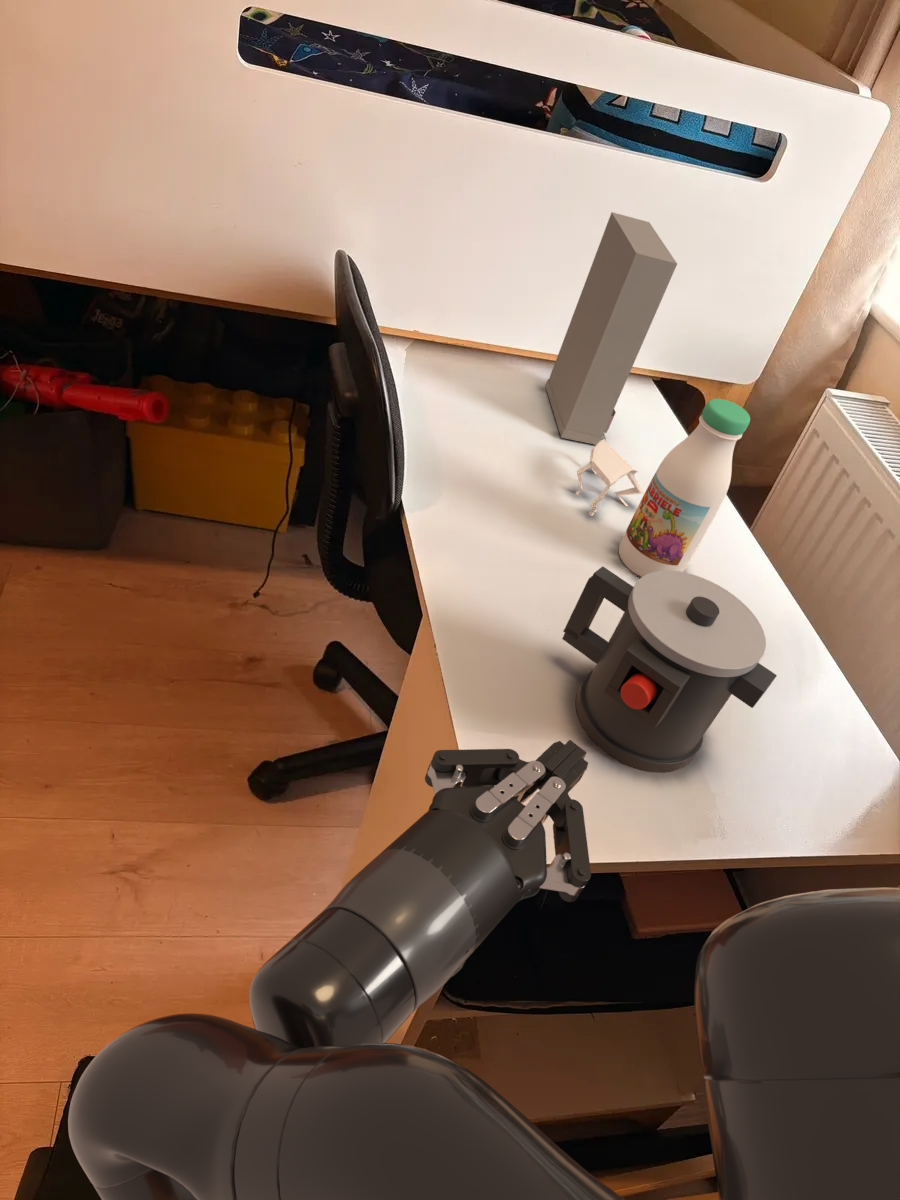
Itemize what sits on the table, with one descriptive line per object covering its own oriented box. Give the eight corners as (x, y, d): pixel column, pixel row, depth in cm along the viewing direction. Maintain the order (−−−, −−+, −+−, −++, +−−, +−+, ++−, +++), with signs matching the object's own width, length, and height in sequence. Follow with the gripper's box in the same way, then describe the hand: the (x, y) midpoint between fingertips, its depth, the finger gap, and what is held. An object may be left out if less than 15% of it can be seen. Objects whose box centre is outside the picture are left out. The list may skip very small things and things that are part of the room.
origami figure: (644, 524, 107) (661, 490, 104) (582, 518, 105) (597, 484, 101) (610, 466, 116) (624, 434, 113) (551, 460, 113) (565, 426, 110)
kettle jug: (672, 817, 74) (754, 703, 65) (510, 693, 80) (565, 573, 71) (732, 738, 83) (811, 629, 74) (583, 632, 89) (640, 519, 80)
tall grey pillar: (603, 448, 119) (684, 266, 103) (560, 439, 117) (635, 253, 102) (584, 396, 129) (655, 223, 113) (544, 387, 128) (610, 211, 112)
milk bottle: (644, 534, 106) (721, 384, 93) (694, 574, 102) (781, 424, 89) (603, 549, 101) (678, 393, 88) (653, 592, 97) (739, 436, 85)
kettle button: (640, 715, 70) (653, 695, 69) (615, 697, 71) (627, 676, 70) (649, 705, 72) (662, 685, 70) (625, 687, 72) (636, 667, 71)
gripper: (532, 958, 46) (676, 780, 58) (347, 795, 50) (517, 661, 63) (490, 1022, 51) (631, 845, 63) (324, 867, 55) (486, 730, 67)
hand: (574, 753), depth 63 cm, fingers closed
